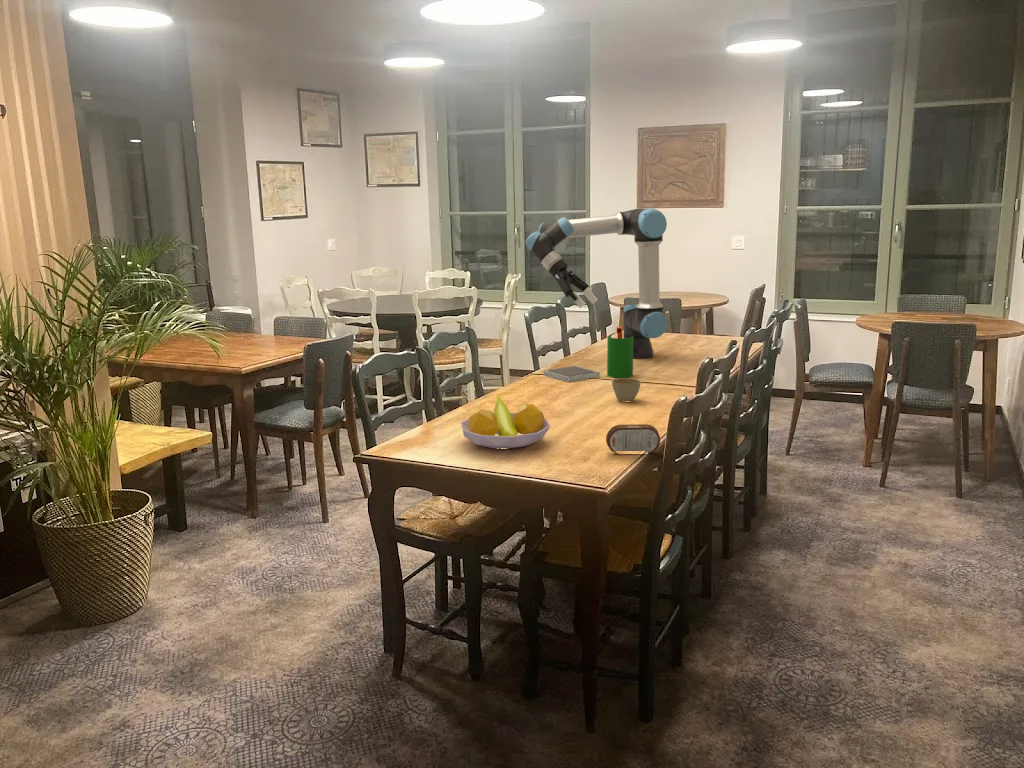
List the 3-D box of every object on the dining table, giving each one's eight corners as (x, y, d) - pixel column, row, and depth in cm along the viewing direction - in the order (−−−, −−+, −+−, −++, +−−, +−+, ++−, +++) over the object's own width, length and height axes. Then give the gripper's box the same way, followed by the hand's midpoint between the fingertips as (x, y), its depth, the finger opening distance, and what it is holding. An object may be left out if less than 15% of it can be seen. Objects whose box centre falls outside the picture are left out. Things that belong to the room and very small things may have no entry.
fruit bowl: (544, 458, 233) (544, 418, 230) (450, 454, 238) (448, 415, 235) (557, 430, 260) (557, 395, 257) (471, 427, 264) (470, 392, 262)
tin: (658, 451, 237) (659, 422, 235) (660, 455, 234) (661, 426, 232) (605, 453, 237) (605, 424, 235) (607, 456, 234) (607, 427, 232)
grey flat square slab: (575, 370, 346) (575, 365, 346) (599, 376, 333) (599, 371, 333) (543, 375, 338) (543, 370, 337) (567, 382, 325) (567, 376, 324)
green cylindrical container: (632, 373, 339) (633, 324, 334) (633, 378, 330) (634, 328, 326) (607, 373, 340) (607, 324, 335) (607, 378, 331) (607, 328, 327)
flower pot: (629, 405, 288) (629, 385, 286) (606, 401, 295) (606, 381, 293) (646, 400, 295) (646, 380, 293) (622, 396, 302) (622, 376, 300)
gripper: (561, 268, 350) (594, 306, 347) (535, 273, 329) (570, 313, 325) (573, 256, 347) (606, 294, 344) (548, 260, 325) (583, 301, 322)
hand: (589, 303), depth 335 cm, fingers open, 13 cm apart
